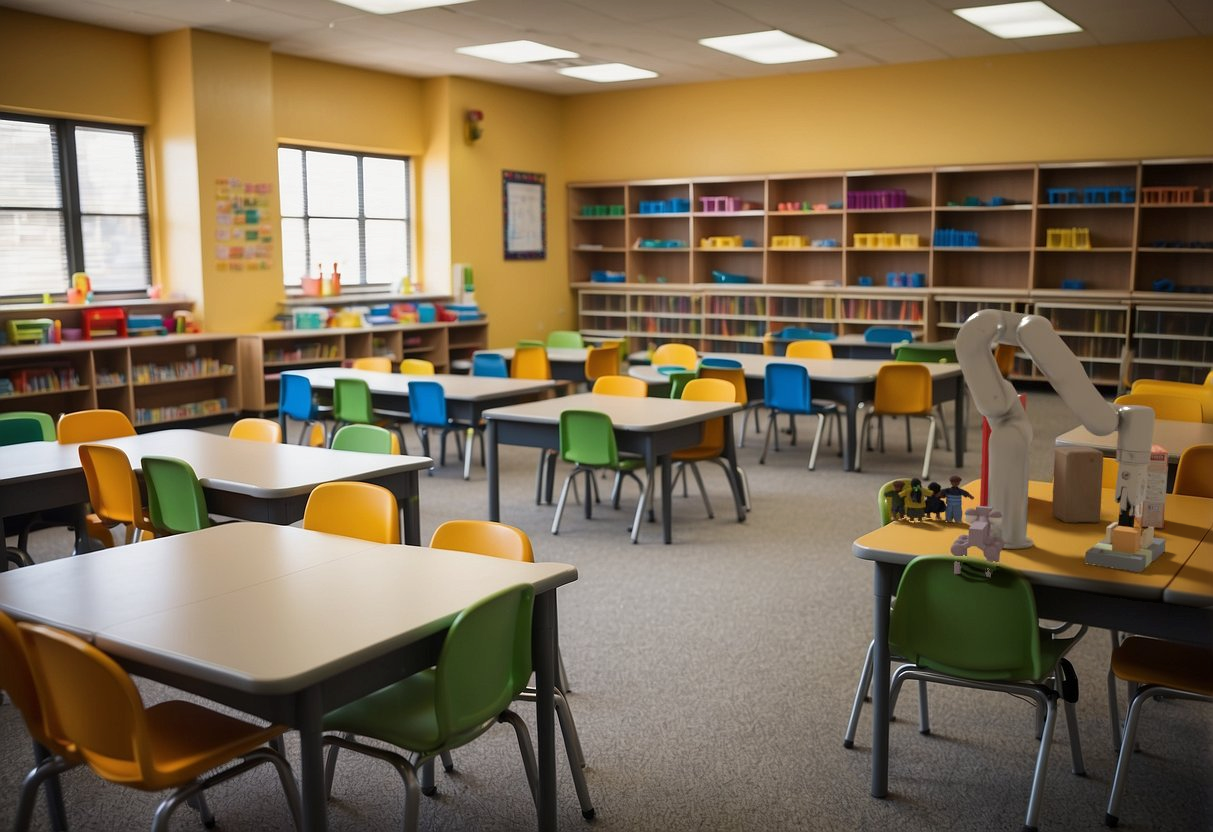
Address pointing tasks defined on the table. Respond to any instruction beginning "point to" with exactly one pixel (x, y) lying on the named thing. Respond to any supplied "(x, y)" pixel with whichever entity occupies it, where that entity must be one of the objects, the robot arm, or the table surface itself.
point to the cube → (1126, 539)
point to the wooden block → (1077, 484)
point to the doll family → (928, 500)
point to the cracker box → (1154, 490)
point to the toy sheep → (979, 536)
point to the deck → (1124, 560)
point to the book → (985, 456)
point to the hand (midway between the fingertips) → (1125, 530)
